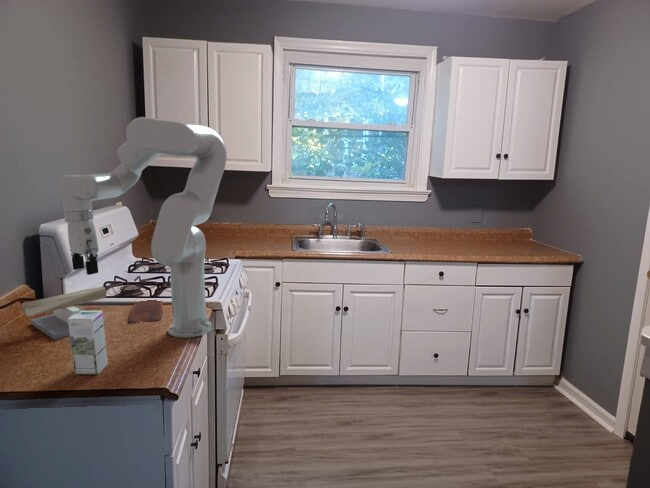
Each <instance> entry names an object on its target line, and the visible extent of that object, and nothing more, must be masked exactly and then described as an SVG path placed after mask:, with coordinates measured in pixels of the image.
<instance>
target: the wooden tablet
mask: <svg viewBox="0 0 650 488" xmlns="http://www.w3.org/2000/svg"><path fill="white" fill-rule="evenodd" d="M134 302H135V301H134ZM163 304H164V303H163V300H162V301H157V300H147V301H140V302H135V303H133V306H132V309H131V311H130V314H129V316H128V321H127V322H128V324H131V325H132V324H138V323H155V322H159V321H161V319H162V317H163V312H164V311H163V310H164V309H163V308H164V305H163Z"/></svg>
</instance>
